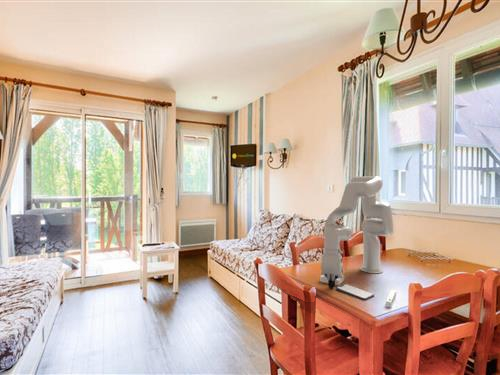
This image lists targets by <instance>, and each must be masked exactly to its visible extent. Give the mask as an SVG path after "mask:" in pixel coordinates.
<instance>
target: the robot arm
mask: <svg viewBox="0 0 500 375" xmlns="http://www.w3.org/2000/svg"><path fill="white" fill-rule="evenodd" d="M382 189H383V180H382V178H381V177H379V176H372V175H370V176H353V177H352V178H350V182H347V184H346V185H345V188H344V191H343V194H342V197H341V200H340V203H339V205H338V207H336V208H335V209H334V210H333V211H331V213H330V214H329V215H328V217H327V218H326V221H325V224H324V229H323V233H324V234H323V237H324V238H323V241H324V243H323V250H324V251H323V253H322V255H321V264H320V265H321V266H320V269H321V275H325V276H326V277H327V279H328V284H327V285H328V288H329V289H334V288H336V286H335V280H336V279H337V278H342V277H343V275H344V274H343V273H344V264H343V256H342V254H343V250H341V244H340V243H341V241H343V242H344V241H348V240H350V239H351V238H352V236H353V230H352V228H350V227H349V226H347V225H340V224H336V223H337V221H338V220H339V219H341V218H342V217H345V216H348V215H350V214H352V213H354V212H356V209H357V206H358V203H359V199H360V202H361V203H360V204H361V210H362V214H363V216H364V217H366V218H365V219H364V220H362V223H361V230H362V238H363V239H362V243H363V244H362V245H363V246H362V247H363V251H362V252H363V253H362V254H363V255H362V257H363V258H362V266H360V267H359V268H360V270H361V271H363V273H364V272H365V273H369V274H381V273H384V272H383V271H384V270H383V268H382V267H381V241H380V239H379V237H378V236H381V237H391V236H393V234H394V221H393V213H392V212H393V211H392V207H391V205H390V204H389V203H388V202H379V201H378V199H377V193H379V192H380V191H381V190H382ZM331 275H333V276H332V278H331Z"/></svg>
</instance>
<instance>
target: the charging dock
mask: <svg viewBox="0 0 500 375" xmlns="http://www.w3.org/2000/svg"><path fill="white" fill-rule="evenodd" d="M396 296H397V290H395V289H390V291H389V294H388V296H387V298H386V300H385V307H386V308H392V307H393V304H394V301H395V300H396Z"/></svg>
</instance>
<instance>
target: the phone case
mask: <svg viewBox="0 0 500 375" xmlns="http://www.w3.org/2000/svg"><path fill="white" fill-rule="evenodd" d="M335 288H336V291H338V292H339V293H343V294H346V295H348V296H350V297H354V298H356V299H359V300H361V301H368V300H371V299H372V298H375V294H374V293H371V292H368V291H367V290H364V289H360V288H359V287H358V288H357V287H355V286H352V285H350V284H342V285H339V286H336V287H335Z"/></svg>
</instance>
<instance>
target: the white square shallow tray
mask: <svg viewBox="0 0 500 375" xmlns="http://www.w3.org/2000/svg"><path fill="white" fill-rule="evenodd" d="M342 275H343V277H342V278H337V279H336V280H335V287H339V286H341V284H343V283H344V281H345V274H342ZM319 283H322V284H326V285H328V279H327V277H326V276H325V275H323V274H321V275H320V276H319Z"/></svg>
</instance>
